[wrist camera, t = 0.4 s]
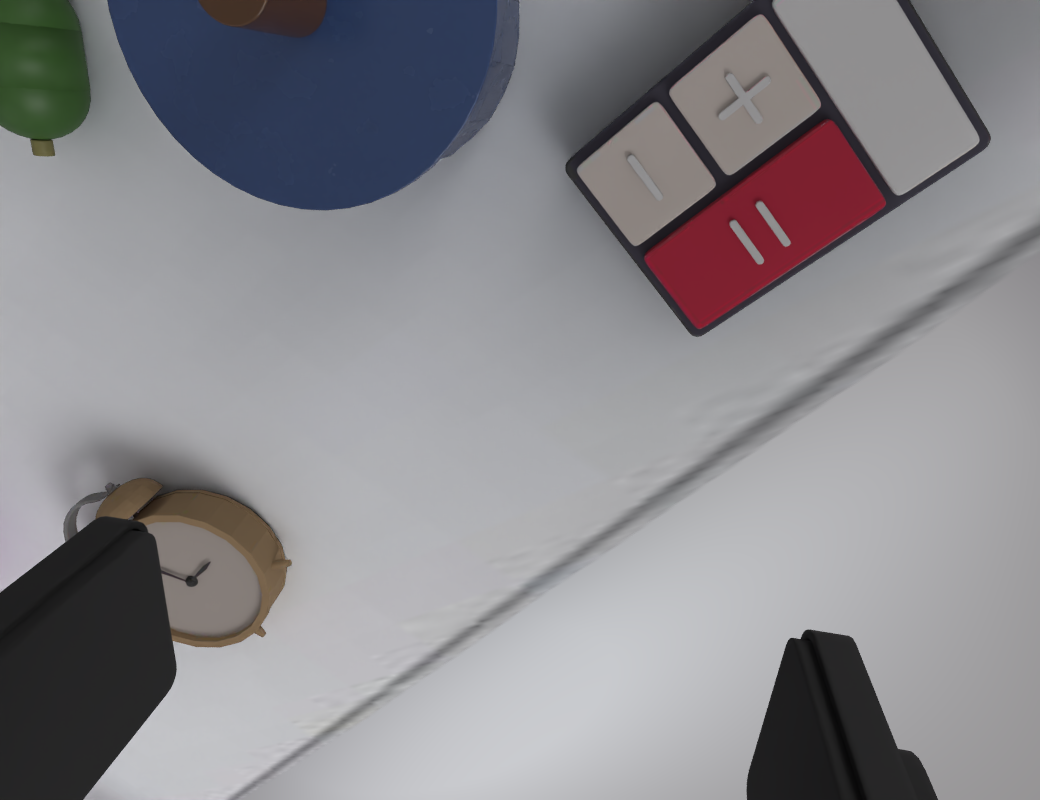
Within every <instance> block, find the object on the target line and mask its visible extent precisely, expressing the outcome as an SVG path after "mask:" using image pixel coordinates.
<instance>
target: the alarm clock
mask: <svg viewBox="0 0 1040 800" xmlns="http://www.w3.org/2000/svg"><path fill="white" fill-rule="evenodd" d="M119 485H120V484H118V485H117V486H115V485H114V484H112V483H109V484H107V485H106V486H105V488H106V490H107V492H100V493H94V494H91V495H88V496H86V497H85V498H83V499H82V500H80V501H79V502H78V503H77V504H76V505H74V506H73V507H72V508H71V509H70V511H69V512H68V514H67V515H66V518H65V521H64V530H63V532H64V537H65V542H67V541H68V540H69V539H70V538H72V537H73V536H74V535H76V534H77V533H78V532H77V527H76V517H77V514H78V511H79V509H80V507H81V506H82V505H85V504H88V503H93V502H97V501H100V500H102V499H103V498H105V497H106V496H107V497H106V499H105V500H104V501H103V502H102V504H101V505H100V507H99V509H98V511H97V514H96V519H97V518H99V517H103V516H109V517H115V518H122V519H129V518H130V517H131V516H132V515H133V517H134V519H133V520H134V521H139V522H142V523H144V524H145V526H146V527H147V529H148V532H149V533H151V534H153V536H154V537H155V539H156V542H157V549H158V555H159V561H160V567H161V573H162V579H163V586H164V592H165V598H166V604H167V610H168V616H169V623H170V629H171V635H172V641H175V642H179V643H183V644H187V645H191V646H195V647H223V646H227V645H231V644H235V643H238V642H241V641H243V640H244V639H246V638H247V637H249V636H250V635H252V634H253V633H255V634H257V635H259V636H261V637H264V636H265V634H266V632H265V631H264V629H263V628H262V627H261V624H262V623H263V621H264V619H265V618H266V616H267V615H268V613H269V610H270V608H271V606H272V604H273V603H274V601H275V600H276V598H277V597H278V595H279V594H280V592H281V590H282V589H283V587H284V585H285V578H286V571H287V567H288V566H291V564H292V562H291V560H286V559H285V556H284V552H283V548H282V546H281V544H280V542H279V541H278V539H277V538H276V536H275V534H274V533H273V531H272V530H271V528H270V527H269V526H268V525H267V524H266V523H265V522H264V521H263V520H262V519H261V518H260V517H259V516H258V515H256V514H255V513H254V512H253V511H252V510H251V509H249V508H247V507H246V506H244V505H242V504H240V503H238V502H236V501H235V500H233V499H231V498H229V497H227V496H223V495H219V494H216V493H212V492H208V491H204V490H176V491H173V492H170V493H167V494H164V495H161V496H158V497H156V498H155V499H153V500H152V501H151V502H150V503H149V504H147V505H146V506H145V507H144V508H143V509H141V510H140V511H139V513H138V512H137V511H138V510H139V509H140V508H141V507H142V506H143V505H144V504H145V503H146V502H148V501H149V500H150V499H151V498H152V497H153V496H154V495H155V494H156V493H157V492H158V491H159V490H160V489H161V488H162V485H161V484H160V483H158V482H156V481H154V480H152V479H148V478H138V479H134V480H131V481H129V482H126V483H125V484H123V485H121V486H119ZM118 486H119V487H118ZM117 487H118V488H117ZM96 519H95V520H96Z"/></svg>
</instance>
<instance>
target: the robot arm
mask: <svg viewBox="0 0 1040 800" xmlns="http://www.w3.org/2000/svg"><path fill="white" fill-rule="evenodd" d="M176 670H177V669H176V660H175V653H174V647H173V641H172V635H171V629H170V623H169V616H168V610H167V604H166V598H165V592H164V586H163V579H162V573H161V567H160V561H159V555H158V549H157V542H156V539H155V537H154V536H153V534H151V533H149V532H148V529H147V527H146V526H145V524H144V523H142V522H139V521H134V520H128V519H122V518H115V517H109V516H103V517H99V518H97V519H96V520H94V521H92V522H91V523H90V524H89V525H87V526H86V527H85V528H83V529H82V530H81V531H79V532H78V533H77V534H76V535H74V536H73V537H72V538H70V539H69V540H68V541H67V542H65V543H64V544H63V545H61V546H60V547H59V548H57V549H56V550H55V551H54V552H52V553H51V554H50V555H48V556H47V557H46V558H44V559H43V560H42V561H41V562H39V563H38V564H37V565H35V566H34V567H33V568H32V569H30V570H29V571H28V572H26V573H25V574H24V575H22V576H21V577H20V578H19V579H17V580H16V581H15V582H13V583H12V584H11V585H9V586H8V587H7V588H6V589H4V590H3V591H2V592H0V800H83V799H84V798H85V796H86V795H87V794H88V793H89V791H90V790H91V789H92V788H93V786H94V785H95V784H96V783H97V781H98V780H99V779H100V778H101V776H102V775H103V774H104V773H105V771H106V770H107V769H108V767H109V766H110V765H111V764H112V762H113V761H114V760H115V759H116V757H117V756H118V755H119V754H120V752H121V751H122V750H123V749H124V747H125V746H126V745H127V744H128V742H129V741H130V740H131V739H132V737H133V736H134V735H135V734H136V732H137V731H138V730H139V728H140V727H141V726H142V725H143V723H144V722H145V721H146V720H147V718H148V717H149V716H150V715H151V713H152V712H153V711H154V710H155V708H156V707H157V706H158V705H159V703H160V702H161V701H162V700H163V698H164V697H165V696H166V694H167V693H168V692H169V690H170V689H171V687H172V685H173V682H174V679H175V676H176ZM747 800H938V799H937V796H936V794H935V792H934V789H933V787H932V784H931V782H930V780H929V777H928V776H927V773H926V770H925V769H924V767H923V765H922V763H921V761H920V760H919V758H918V757H917V756H916V755H914V753H912V752H911V751H906V750H900V749H898V748H897V746H896V743H895V741H894V739H893V736H892V733H891V731H890V728H889V726H888V723H887V721H886V718H885V716H884V713H883V711H882V708H881V706H880V703H879V701H878V698H877V696H876V693H875V691H874V688H873V686H872V683H871V681H870V678H869V676H868V673H867V670H866V668H865V666H864V663H863V660H862V658H861V655H860V653H859V650H858V648H857V645H856V643H855V642H854V640H853V638H851V637H850V636H845V635H839V634H833V633H827V632H820V631H815V630H806V631H805V632H804V633H803V634H802V637H801V639H796V638H790V639H789V640H788V642H787V644H786V648H785V651H784V654H783V658H782V661H781V664H780V668H779V671H778V675H777V678H776V681H775V685H774V688H773V691H772V695H771V698H770V701H769V705H768V708H767V712H766V715H765V718H764V722H763V725H762V729H761V732H760V735H759V739H758V742H757V745H756V749H755V752H754V756H753V759H752V762H751V766H750V769H749V773H748V779H747Z"/></svg>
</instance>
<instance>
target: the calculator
mask: <svg viewBox="0 0 1040 800" xmlns="http://www.w3.org/2000/svg"><path fill="white" fill-rule="evenodd" d="M990 140H991V136H990V134H989V132H988V130H987V128H986V126H985V125H984V123H983V121H982V120H981V118H980V116H979V115H978V113H977V111H976V110H975V108H974V106H973V105H972V103H971V102H970V100H969V98H968V97H967V95H966V93H965V92H964V90H963V88H962V87H961V85H960V83H959V82H958V80H957V78H956V77H955V75H954V73H953V72H952V70H951V68H950V67H949V65H948V63H947V62H946V60H945V58H944V57H943V55H942V53H941V52H940V50H939V48H938V47H937V45H936V44H935V42H934V40H933V39H932V37H931V35H930V34H929V32H928V30H927V29H926V27H925V25H924V24H923V22H922V20H921V19H920V17H919V15H918V14H917V12H916V10H915V9H914V7H913V5H912V4H911V2H910V0H754V1H753V2H752V3H750V4H749V5H748V6H747V7H746V8H745V9H743V10H742V11H741V12H740V13H739V14H738V15H736V16H735V17H734V18H733V19H732V20H731V21H729V22H728V23H727V24H726V25H725V26H724V27H722V28H721V29H720V30H719V31H718V32H717V33H715V34H714V35H713V36H712V37H711V38H710V39H708V40H707V41H706V42H705V43H704V44H703V45H701V46H700V47H699V48H698V49H697V50H696V51H695V52H693V53H692V54H691V55H690V56H689V57H688V58H686V59H685V60H684V61H683V62H682V63H681V64H679V65H678V66H677V67H676V68H675V69H674V70H672V71H671V72H670V73H669V74H668V75H667V76H665V77H664V78H663V79H662V80H661V81H660V82H658V83H657V84H656V85H655V86H654V87H653V88H651V89H650V90H649V91H648V92H647V93H646V94H644V95H643V96H642V97H641V98H640V99H639V100H637V101H636V102H635V103H634V104H633V105H632V106H630V107H629V108H628V109H627V110H626V111H625V112H623V113H622V114H621V115H620V116H619V117H618V118H617V119H615V120H614V121H613V122H612V123H611V124H610V125H608V126H607V127H606V128H605V129H604V130H603V131H601V132H600V133H599V134H598V135H597V136H596V137H594V138H593V139H592V140H591V141H590V142H589V143H587V144H586V145H585V146H584V147H583V148H582V149H580V150H579V151H578V152H577V153H576V154H575V155H574V156H572V157H571V158H570V159H569V160H568V162H567V163H566V172H567V174H568V176H569V177H570V178H571V180H572V181H573V182H574V183H575V185H576V186H577V187H578V189H579V190H580V191H581V193H582V194H583V195H584V196H585V198H586V199H587V200H588V202H589V203H590V204H591V206H592V207H593V208H594V209H595V211H596V212H597V213H598V215H599V216H600V217H601V219H602V220H603V221H604V222H605V224H606V225H607V226H608V228H609V229H610V230H611V232H612V233H613V234H614V235H615V237H616V238H617V239H618V241H619V242H620V243H621V245H622V246H623V247H624V248H625V250H626V251H627V252H628V254H629V255H630V256H631V258H632V259H633V260H634V261H635V263H636V264H637V265H638V267H639V268H640V269H641V271H642V272H643V273H644V274H645V276H646V277H647V278H648V280H649V281H650V282H651V284H652V285H653V286H654V287H655V289H656V290H657V291H658V293H659V294H660V295H661V297H662V298H663V299H664V300H665V302H666V303H667V304H668V306H669V307H670V308H671V310H672V311H673V312H674V313H675V315H676V316H677V317H678V319H679V320H680V321H681V323H682V324H683V325H684V326H685V328H686V329H687V330H688V332H689V333H690V334H691V335H693V336H696V337H699V336H702V335H704V334H705V333H707V332H709V331H710V330H712V329H713V328H715V327H716V326H718V325H719V324H721V323H722V322H724V321H725V320H727V319H728V318H730V317H731V316H733V315H734V314H736V313H737V312H739V311H740V310H742V309H743V308H745V307H746V306H748V305H749V304H751V303H753V302H754V301H756V300H757V299H759V298H760V297H762V296H763V295H765V294H766V293H768V292H769V291H771V290H772V289H774V288H775V287H777V286H778V285H780V284H781V283H783V282H784V281H786V280H787V279H789V278H790V277H792V276H793V275H795V274H797V273H798V272H800V271H801V270H803V269H804V268H806V267H807V266H809V265H810V264H812V263H813V262H815V261H816V260H818V259H819V258H821V257H822V256H824V255H825V254H827V253H828V252H830V251H831V250H833V249H834V248H836V247H837V246H839V245H840V244H842V243H844V242H845V241H847V240H848V239H850V238H851V237H853V236H854V235H856V234H857V233H859V232H860V231H862V230H863V229H865V228H866V227H868V226H869V225H871V224H872V223H874V222H875V221H877V220H878V219H880V218H881V217H883V216H884V215H886V214H887V213H889V212H891V211H892V210H894V209H895V208H897V207H898V206H900V205H901V204H903V203H904V202H906V201H907V200H909V199H910V198H912V197H913V196H915V195H916V194H918V193H919V192H921V191H922V190H924V189H925V188H927V187H928V186H930V185H931V184H933V183H934V182H936V181H938V180H939V179H941V178H942V177H944V176H945V175H947V174H948V173H950V172H951V171H953V170H954V169H956V168H957V167H959V166H960V165H962V164H963V163H965V162H966V161H968V160H969V159H971V158H972V157H974V156H975V155H977V154H978V153H980V152H981V151H983V150H984V149H985V148H986V147H987V146H988V145H989V143H990Z"/></svg>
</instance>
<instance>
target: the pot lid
mask: <svg viewBox="0 0 1040 800" xmlns="http://www.w3.org/2000/svg"><path fill="white" fill-rule="evenodd" d="M107 1H108V6H109V12H110V15H111V19H112V22H113V26H114V29H115V32H116V36H117V39H118V42H119V45H120V47H121V50H122V52H123V55H124V57H125V60H126V62H127V65H128V67H129V69H130V71H131V73H132V75H133V77H134V79H135V81H136V83H137V85H138V87H139V89H140V90H141V92H142V94H143V96H144V97H145V99H146V100H147V102H148V103H149V105H150V106H151V108H152V109H153V111H154V113H155V114H156V116H157V117H158V118H159V120H160V121H161V122H162V123H163V125H164V126H165V127H166V128H167V129H168V131H169V132H170V133H171V134H172V136H173V137H174V138H175V139H176V140H177V141H178V142H179V143H180V144H181V145H182V146H183V147H184V148H185V149H186V150H187V151H188V152H189V153H190V154H191V155H192V156H193V157H194V158H195V159H196V160H198V161H199V162H200V163H201V164H203V165H204V166H205V167H206V168H208V169H209V170H210V171H211V172H212V173H214V174H215V175H217V176H219V177H220V178H222V179H223V180H225V181H226V182H228V183H230V184H231V185H233V186H234V187H236V188H238V189H240V190H242V191H245V192H247V193H249V194H251V195H253V196H255V197H257V198H260V199H263V200H266V201H269V202H272V203H275V204H278V205H283V206H288V207H293V208H299V209H308V210H335V209H345V208H351V207H355V206H359V205H364V204H368V203H371V202H374V201H376V200H379V199H381V198H384V197H386V196H389V195H391V194H393V193H396V192H398V191H399V190H401V189H403V188H404V187H406V186H408V185H409V184H411V183H413V182H414V181H416V180H417V179H419V178H420V177H421V176H422V175H423V174H425V173H426V172H427V171H428V170H430V169H431V168H432V167H433V166H435V165H436V163H437V162H438V161H439V160H440V159H441V158H442V157H443V156H444V155H445V154H446V153H447V152H448V151H449V150H450V148H451V147H452V146H453V145H454V143H455V142H456V140H457V139H458V138H459V136H460V135H461V133H462V132H463V130H464V129H465V128H466V126H467V124H468V122H469V120H470V119H471V117H472V115H473V113H474V111H475V109H476V107H477V105H478V103H479V101H480V98H481V96H482V93H483V91H484V88H485V85H486V83H487V80H488V77H489V74H490V70H491V66H492V62H493V58H494V53H495V49H496V43H497V35H498V27H499V19H500V0H107Z"/></svg>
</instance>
